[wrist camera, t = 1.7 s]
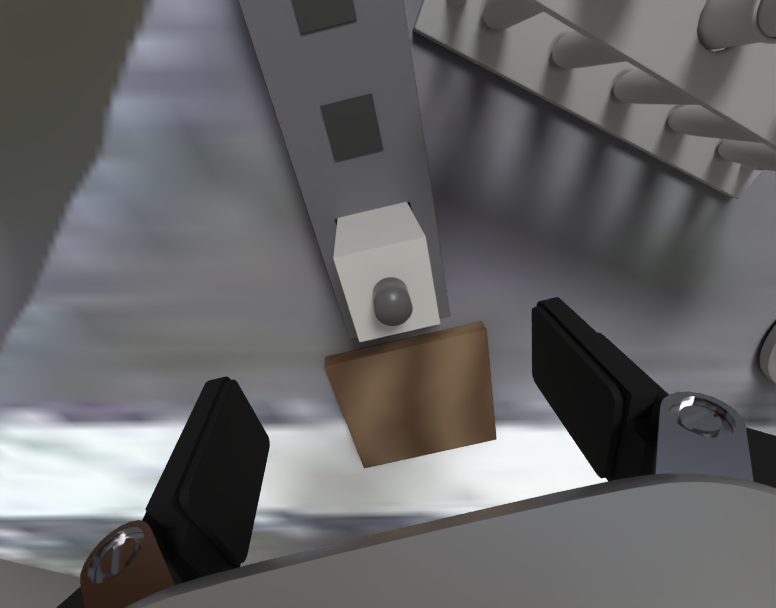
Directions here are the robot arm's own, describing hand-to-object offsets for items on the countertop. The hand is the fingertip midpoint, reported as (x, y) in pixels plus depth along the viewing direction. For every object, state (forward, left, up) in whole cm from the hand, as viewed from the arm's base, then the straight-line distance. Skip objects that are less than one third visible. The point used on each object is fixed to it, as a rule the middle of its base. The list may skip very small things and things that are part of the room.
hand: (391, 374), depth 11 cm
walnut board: (0, +16, -15) cm, 22 cm away
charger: (0, 0, -14) cm, 14 cm away
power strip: (0, -5, -15) cm, 16 cm away
